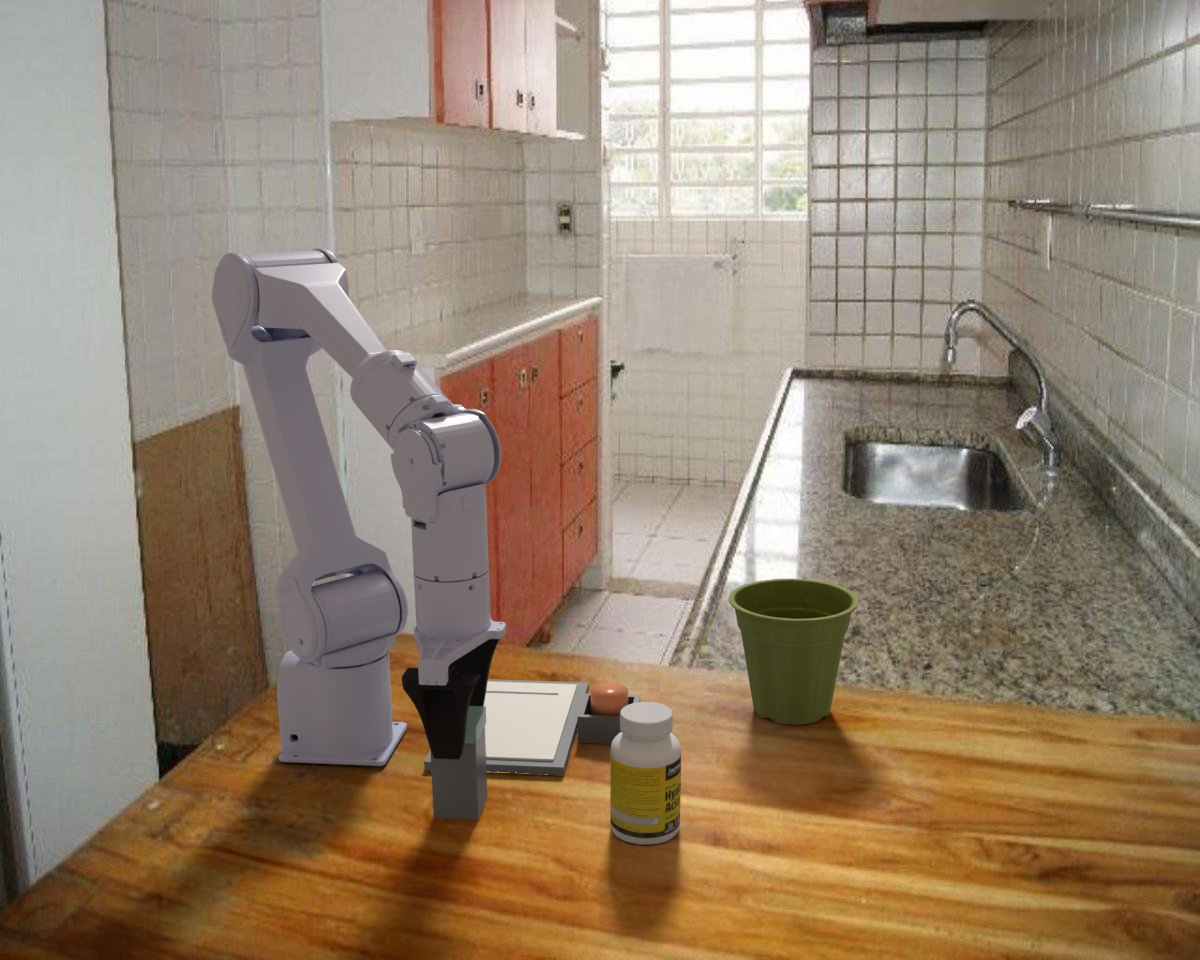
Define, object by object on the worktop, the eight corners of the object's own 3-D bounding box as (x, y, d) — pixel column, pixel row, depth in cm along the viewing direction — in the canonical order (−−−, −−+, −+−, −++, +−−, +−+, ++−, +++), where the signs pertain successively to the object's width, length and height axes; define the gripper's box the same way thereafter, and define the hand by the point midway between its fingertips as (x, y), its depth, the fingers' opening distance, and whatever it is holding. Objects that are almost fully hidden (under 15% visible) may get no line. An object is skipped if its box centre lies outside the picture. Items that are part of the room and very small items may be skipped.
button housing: (577, 742, 110) (577, 716, 109) (584, 717, 115) (584, 693, 114) (635, 744, 109) (635, 718, 109) (640, 719, 114) (640, 694, 114)
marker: (432, 818, 97) (427, 725, 95) (443, 795, 101) (439, 704, 99) (479, 820, 97) (475, 727, 95) (488, 797, 100) (485, 706, 98)
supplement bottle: (675, 850, 92) (676, 730, 90) (604, 843, 93) (603, 724, 91) (685, 815, 97) (685, 699, 95) (617, 808, 98) (616, 694, 96)
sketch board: (424, 770, 105) (423, 759, 105) (468, 686, 122) (468, 676, 122) (563, 776, 104) (563, 764, 103) (588, 690, 121) (588, 680, 121)
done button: (588, 717, 110) (588, 697, 110) (593, 702, 113) (592, 682, 113) (626, 719, 110) (626, 698, 109) (629, 703, 113) (629, 683, 113)
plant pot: (805, 677, 124) (809, 570, 121) (880, 722, 113) (885, 606, 111) (703, 699, 119) (705, 588, 116) (771, 748, 108) (774, 627, 106)
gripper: (484, 603, 86) (490, 780, 90) (519, 544, 101) (523, 699, 104) (386, 601, 87) (396, 776, 90) (434, 543, 101) (441, 696, 104)
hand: (458, 735), depth 97 cm, fingers open, 7 cm apart
